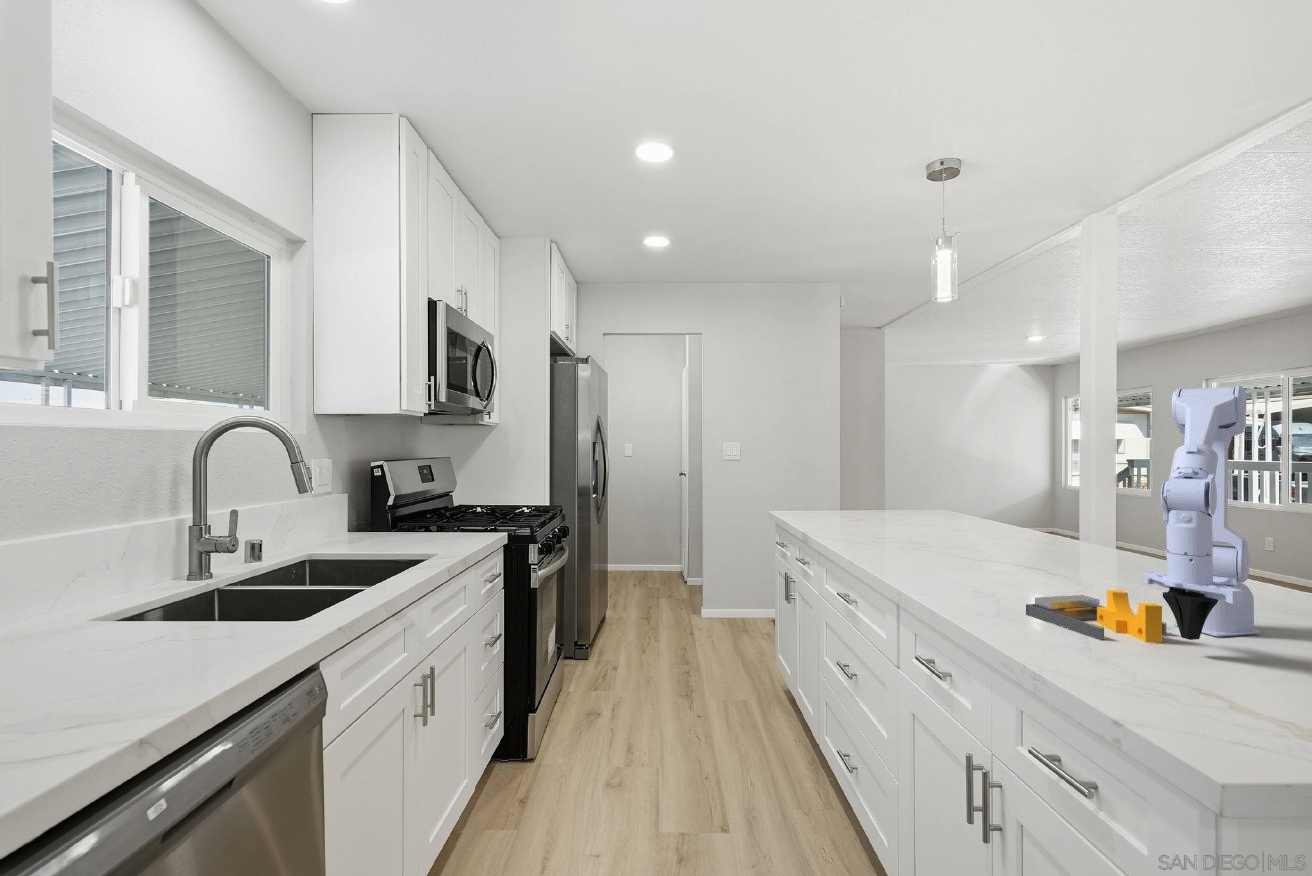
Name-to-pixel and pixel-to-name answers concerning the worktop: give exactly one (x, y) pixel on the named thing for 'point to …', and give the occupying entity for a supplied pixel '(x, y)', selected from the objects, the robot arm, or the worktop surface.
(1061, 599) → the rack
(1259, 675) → the worktop surface
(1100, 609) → the notched yellow bracket
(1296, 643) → the worktop surface
